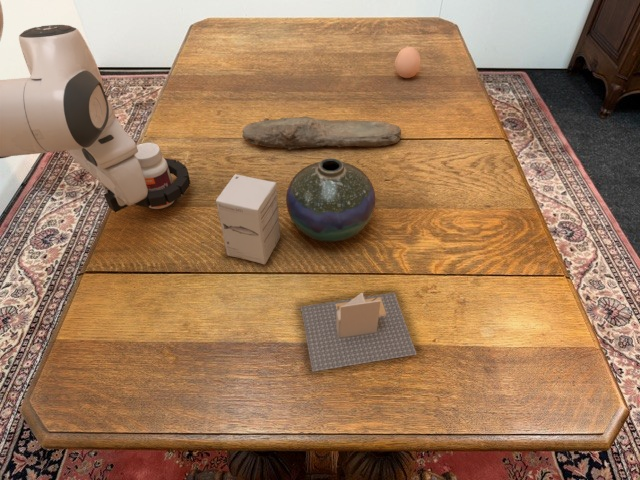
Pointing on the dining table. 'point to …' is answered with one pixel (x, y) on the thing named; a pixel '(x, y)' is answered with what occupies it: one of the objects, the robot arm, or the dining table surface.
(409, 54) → the egg
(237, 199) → the white packaging box
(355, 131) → the elongated rock
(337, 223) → the vase
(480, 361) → the dining table surface
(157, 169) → the pill bottle
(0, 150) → the robot arm
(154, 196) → the rubber collar
